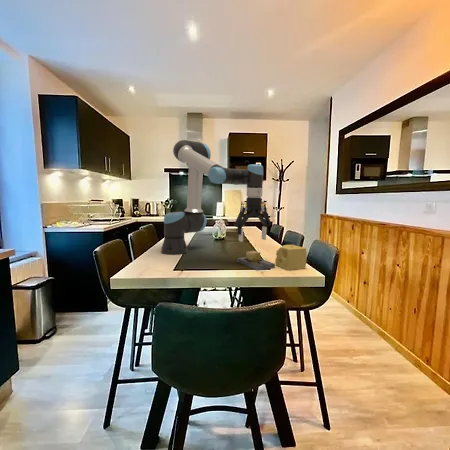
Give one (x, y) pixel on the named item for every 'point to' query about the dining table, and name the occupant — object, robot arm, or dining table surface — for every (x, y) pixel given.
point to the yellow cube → (252, 256)
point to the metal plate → (256, 264)
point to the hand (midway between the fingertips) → (252, 240)
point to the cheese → (291, 257)
